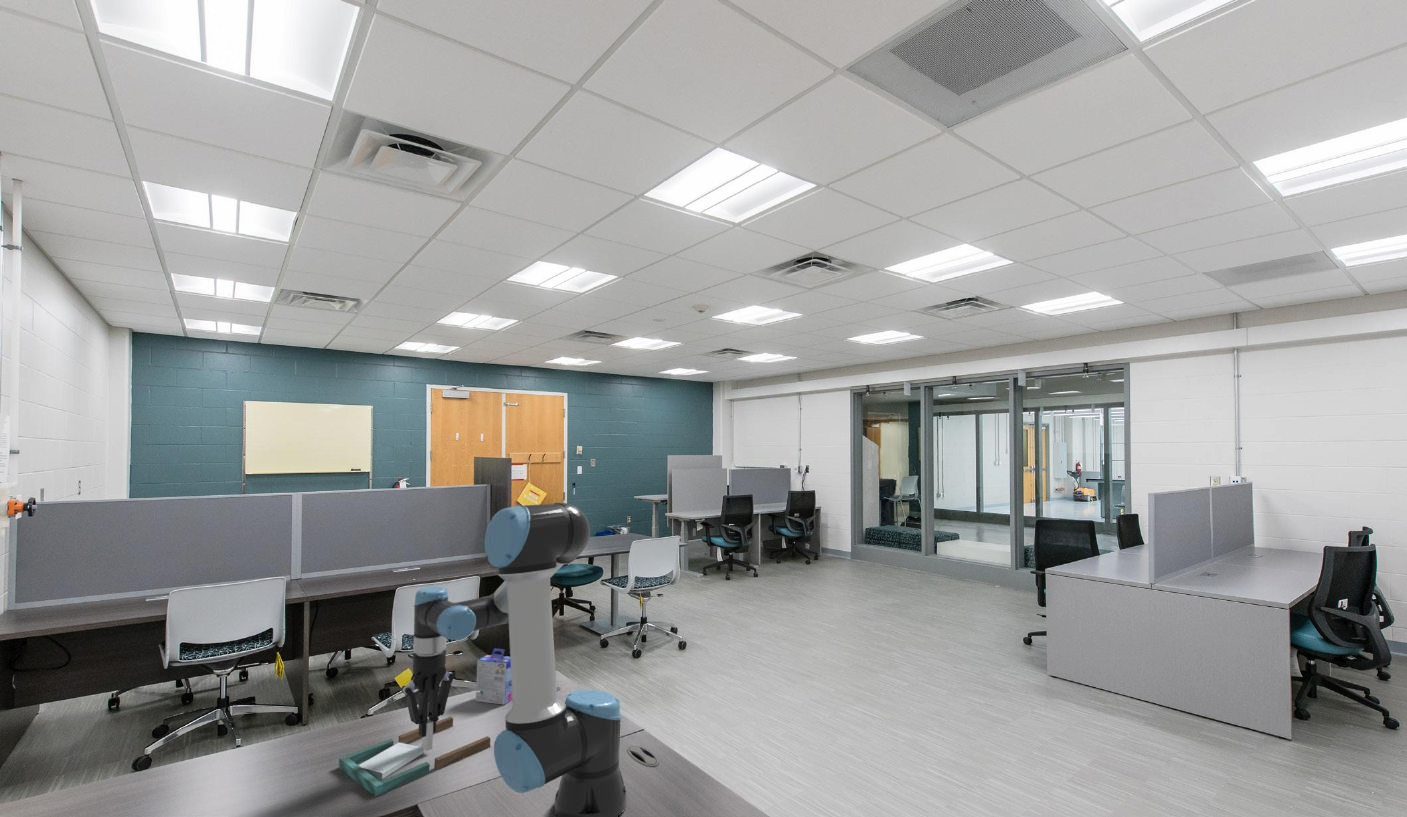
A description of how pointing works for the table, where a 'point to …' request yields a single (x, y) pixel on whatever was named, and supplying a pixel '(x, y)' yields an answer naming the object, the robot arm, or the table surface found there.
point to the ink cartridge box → (494, 678)
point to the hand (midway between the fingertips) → (426, 748)
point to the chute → (381, 787)
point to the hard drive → (391, 760)
